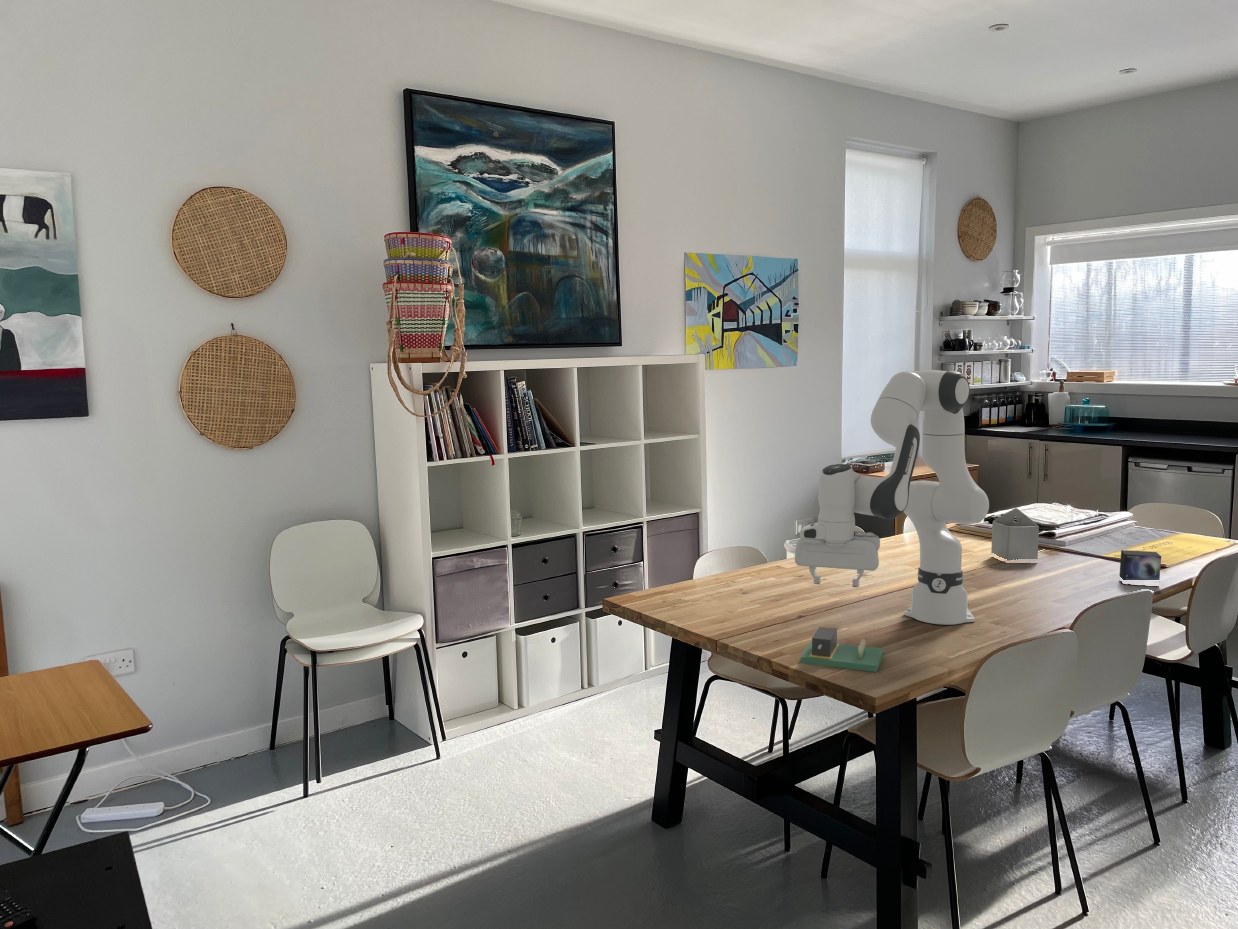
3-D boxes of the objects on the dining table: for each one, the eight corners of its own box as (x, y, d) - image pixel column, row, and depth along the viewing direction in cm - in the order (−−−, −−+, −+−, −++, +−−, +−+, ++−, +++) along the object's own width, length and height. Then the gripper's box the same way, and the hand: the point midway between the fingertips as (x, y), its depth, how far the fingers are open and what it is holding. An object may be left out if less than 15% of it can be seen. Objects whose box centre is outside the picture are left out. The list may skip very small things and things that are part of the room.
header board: (811, 646, 232) (811, 629, 231) (883, 654, 225) (884, 636, 224) (800, 663, 219) (800, 645, 218) (876, 672, 212) (877, 653, 211)
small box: (1123, 585, 290) (1124, 553, 289) (1118, 580, 296) (1120, 549, 295) (1160, 587, 287) (1162, 555, 286) (1154, 582, 293) (1156, 551, 292)
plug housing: (819, 643, 229) (819, 626, 228) (836, 645, 227) (837, 628, 226) (809, 658, 217) (809, 641, 216) (828, 660, 215) (828, 643, 215)
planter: (983, 560, 328) (985, 508, 326) (991, 557, 334) (993, 505, 332) (1030, 567, 317) (1032, 513, 315) (1037, 563, 323) (1040, 510, 321)
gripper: (881, 530, 220) (881, 585, 222) (798, 526, 228) (798, 579, 230) (878, 535, 214) (877, 591, 216) (793, 531, 222) (793, 585, 224)
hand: (836, 585), depth 223 cm, fingers open, 8 cm apart
